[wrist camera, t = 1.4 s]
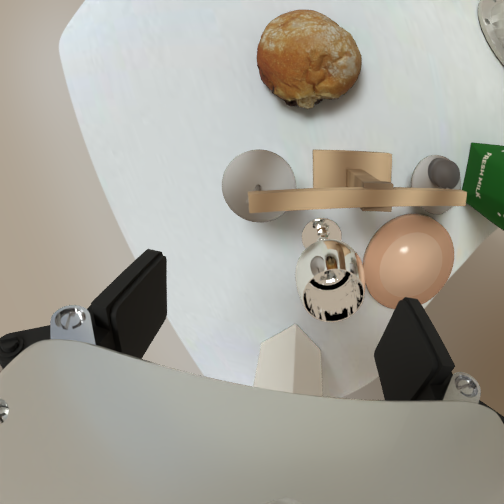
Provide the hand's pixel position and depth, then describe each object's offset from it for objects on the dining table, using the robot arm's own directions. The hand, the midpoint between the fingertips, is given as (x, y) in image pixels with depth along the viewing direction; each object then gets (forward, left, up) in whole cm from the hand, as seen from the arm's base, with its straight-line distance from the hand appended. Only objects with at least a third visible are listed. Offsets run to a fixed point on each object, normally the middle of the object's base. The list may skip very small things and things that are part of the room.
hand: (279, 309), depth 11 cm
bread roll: (-2, -14, -21) cm, 25 cm away
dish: (-14, +8, -21) cm, 27 cm away
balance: (-6, -2, -21) cm, 22 cm away
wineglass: (-3, +5, -21) cm, 22 cm away
